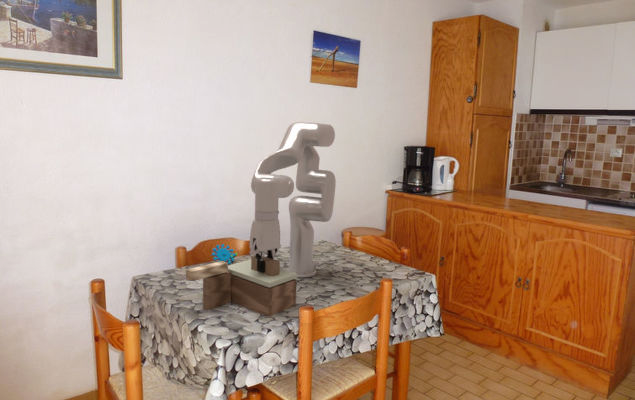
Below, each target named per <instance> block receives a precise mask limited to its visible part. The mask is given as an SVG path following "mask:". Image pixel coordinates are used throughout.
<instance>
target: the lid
mask: <svg viewBox="0 0 635 400" xmlns="http://www.w3.org/2000/svg"><path fill="white" fill-rule="evenodd" d="M250 257H251V258H250V259H248V260H243V261H240V262H236V263H231V264H228V271H229V272H231V274H232V275H235V276H238V277H241V278H244V279H246V280H249V281H252V282H255V283H258V284H261V285H263V286H266V287H269V288H270V287H273V286H275V285H278V284H281V283H284V282H287V281H290V280H293V279H296V280H297V278H298V277H297V273H294V272H291V271H288V270H285V269H286V268H285V269H284V268H281V267H280V266H281V261H280V260H277V259H275V258H274V259H271V258H268V257H266V256H265V255H264V261H265V272H264V273H262V272H259V271H257V259H255V257H254V256H253V255H251V256H250Z"/></svg>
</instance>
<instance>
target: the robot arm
mask: <svg viewBox="0 0 635 400" xmlns="http://www.w3.org/2000/svg"><path fill="white" fill-rule="evenodd" d="M335 137H336V132H335V128H334V126H332V124H328V123H327V124H325V123H321V122H303V121H299V122H293V123H291V124H289V126H288V127H287V129H286V131H285V133H284V136H283V138H282V140H281V143H280V145H279V148H278V149H277V150H275V151H274V152H272V153H271V154H269V155H267V156H265V158H263V159H262V160H261V161H260V162H259V163H258V165H257V167H256V169H255V171H254V173H253V176H252V178H251V183H250V184H251V185H250V188H251V191H252V192H253V194H254V219H253V220H252V221H251V222H252V223H251V227H250V234H249V249H250V250H249V255H251V256H254V257H255V259H257V271H259V272H262V273H264V272H265V261H264V256H265V255H266V256H265V257H268V258H271V259H275V258H276V254H277V252H278V251H279V250H280V249H281V247H282V245H281V229H280V227H281V226H280V219H279V214H280V211H279V199H285V198H288V197H290V196H291V195H292V193H293V192H294V190H295V189H296V190H297V191H299V192H301V193H306V194H307V193H308V194H316V195H321V197H317V196H309V195H296V196H293V197H292V198H290V201H289V203H288V212H289V221H290V223H289V224H290V225H289V226H290V233H289V234H290V235H289V255H288V257H289V260H288V261H289V262H288V267H286V268H285V270H288V271H291V272H294V273H297V278H310V277H314V276H316V274H317V270H316V269H315V268H314V267H315V266H318V265H320V261H319V260H318V259H317V260H314V240H315V229H314V227H313V225H312V224H311V222H319V223H320V222H321V223H328V222H330V220H331V219H332V216H333V214H334V213H333V212H334V204H335V196H336V195H335V194H336V187H337V184H336V183H337V181H336V176H335V174H334V172H332V171H331V170H326V169H325V170H324V169H320V160H321V159H320V155H319V153H318V151H317V150H316V149H315V147H321V148H323V147H324V148H326V147H327V148H328V147H330V146H332V145H333V143H334V142H335V139H336V138H335ZM295 165H297V169H296V178H295V182H294V180H293V178H292V177H291V176H288V175H284V174H283V175H282V174H275V173H274V172H276V171H279V170H283V169H286V168H289V167H292V166H295ZM273 173H274V174H273ZM295 187H296V188H295ZM265 253H266V254H265Z"/></svg>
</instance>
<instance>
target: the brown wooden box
mask: <svg viewBox="0 0 635 400" xmlns="http://www.w3.org/2000/svg"><path fill="white" fill-rule="evenodd" d="M297 285H298V280H297V278H296V279H293V280H290V281H287V282H284V283H281V284H278V285H275V286H273V287H270V288H269V287H266V286H263V285H261V284H258V283H255V282H252V281H249V280H246V279H244V278H241V277H238V276H235V275H232V274H231V272H229V271H228V272H225V273H221V274H218V275H214V276H210V277H207V278H203V279H202V308H203V309H206V310H207V311H210V310H213V309H217V308H219V307H222V306H225V305H229V304H230V303H232V304H234V305H238V306H239V307H243V308H245V309H247V310H250V311H251V312H252V311H253V312H255V313H258V314H259V315H262V316H265V317H267V318H269V317H271V316H274V315H277V314H279V313H282V312H284V311H286V310H289V309H291V308H294V307H296V306H297Z"/></svg>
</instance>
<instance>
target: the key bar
mask: <svg viewBox="0 0 635 400" xmlns="http://www.w3.org/2000/svg"><path fill="white" fill-rule="evenodd" d="M228 265H229V264H228V261H226V262H224V261H220V262H218V261H217V262H211V263H208V264H204V265H203V264H202V265H200V266H196V267H191V268H188V269H185V280H188V281H189V282H195V281H200V280H203V278H207V277H210V276H214V275H218V274H221V273H225V272H228Z"/></svg>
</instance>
